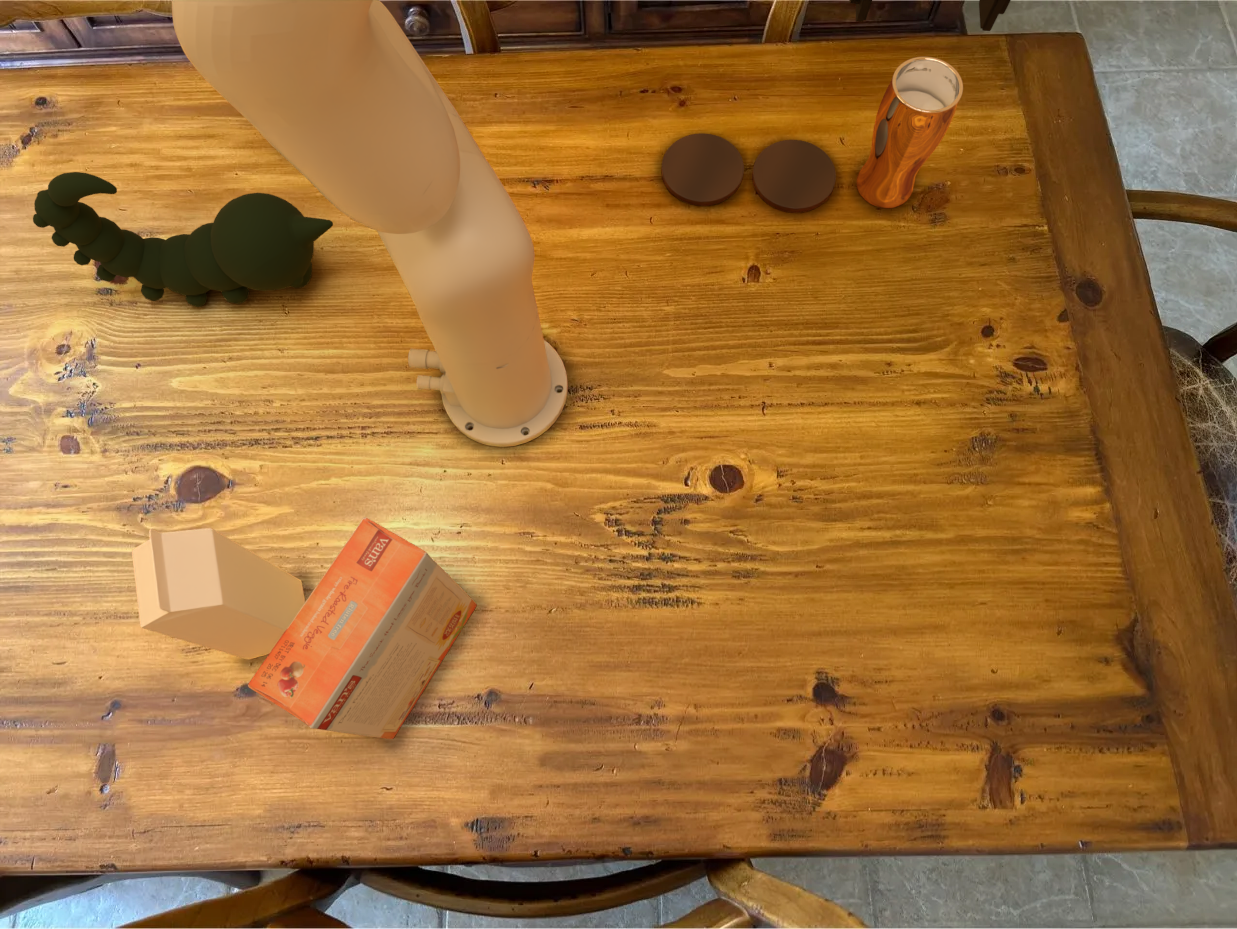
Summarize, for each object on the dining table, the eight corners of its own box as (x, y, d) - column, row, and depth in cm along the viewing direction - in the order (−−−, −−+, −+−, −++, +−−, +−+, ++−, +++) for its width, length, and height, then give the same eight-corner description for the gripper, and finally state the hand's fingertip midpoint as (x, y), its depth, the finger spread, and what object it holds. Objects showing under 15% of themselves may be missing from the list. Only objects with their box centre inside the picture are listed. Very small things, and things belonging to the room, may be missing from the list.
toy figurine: (134, 333, 94) (363, 308, 92) (-3, 231, 76) (278, 196, 74) (144, 256, 97) (366, 230, 95) (15, 141, 79) (285, 105, 77)
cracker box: (426, 573, 83) (363, 510, 63) (480, 605, 82) (432, 552, 62) (337, 706, 79) (240, 684, 59) (393, 742, 78) (312, 731, 58)
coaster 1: (658, 202, 96) (658, 198, 95) (664, 135, 99) (665, 130, 98) (741, 208, 96) (741, 204, 95) (745, 140, 99) (745, 135, 98)
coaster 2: (750, 209, 96) (751, 205, 95) (754, 141, 99) (755, 136, 98) (833, 215, 95) (835, 211, 95) (835, 147, 98) (836, 142, 98)
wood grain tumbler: (913, 216, 95) (962, 119, 81) (848, 206, 96) (886, 107, 82) (919, 164, 97) (968, 60, 83) (855, 154, 98) (894, 49, 84)
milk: (248, 660, 81) (112, 623, 60) (238, 597, 82) (103, 539, 62) (314, 641, 81) (202, 597, 60) (303, 578, 83) (190, 515, 62)
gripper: (870, -188, 52) (810, 42, 68) (1168, -169, 52) (1036, 58, 68) (869, -272, 55) (811, -31, 71) (1153, -254, 54) (1030, -16, 70)
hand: (921, 12), depth 69 cm, fingers open, 9 cm apart
